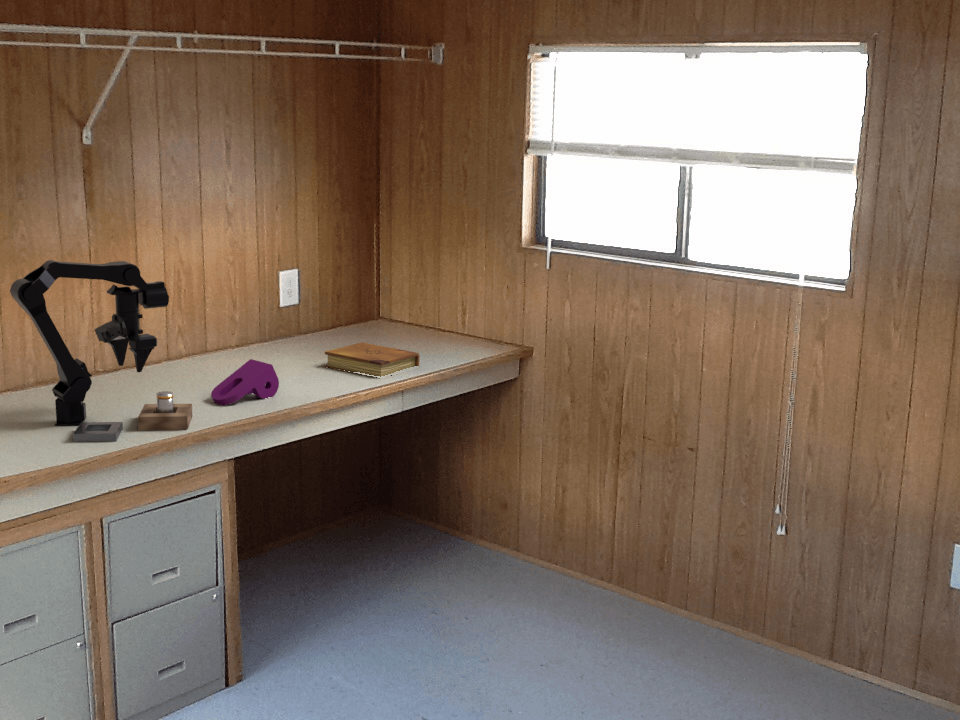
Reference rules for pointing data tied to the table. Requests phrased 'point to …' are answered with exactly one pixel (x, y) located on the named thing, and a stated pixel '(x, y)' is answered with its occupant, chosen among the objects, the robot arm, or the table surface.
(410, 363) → the diary
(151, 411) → the socket block
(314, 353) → the table surface
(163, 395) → the steel pin
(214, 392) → the mounting bracket
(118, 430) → the pin mount
